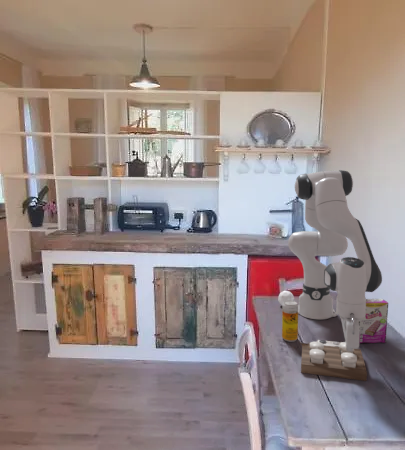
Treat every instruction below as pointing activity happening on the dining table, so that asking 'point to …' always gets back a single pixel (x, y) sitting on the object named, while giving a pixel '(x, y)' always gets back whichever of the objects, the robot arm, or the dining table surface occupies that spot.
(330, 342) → the pattern plaque
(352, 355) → the button
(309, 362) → the button board
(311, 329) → the dining table surface
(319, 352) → the button
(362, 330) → the candy bar box
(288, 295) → the geometric ball
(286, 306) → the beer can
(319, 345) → the button
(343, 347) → the button
